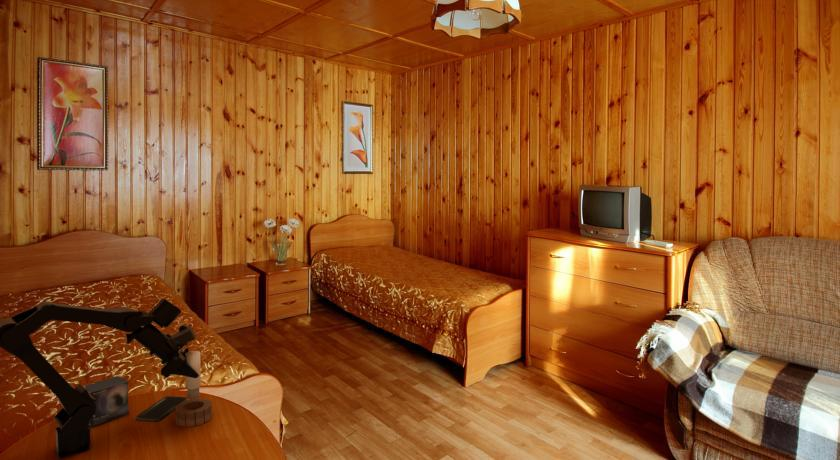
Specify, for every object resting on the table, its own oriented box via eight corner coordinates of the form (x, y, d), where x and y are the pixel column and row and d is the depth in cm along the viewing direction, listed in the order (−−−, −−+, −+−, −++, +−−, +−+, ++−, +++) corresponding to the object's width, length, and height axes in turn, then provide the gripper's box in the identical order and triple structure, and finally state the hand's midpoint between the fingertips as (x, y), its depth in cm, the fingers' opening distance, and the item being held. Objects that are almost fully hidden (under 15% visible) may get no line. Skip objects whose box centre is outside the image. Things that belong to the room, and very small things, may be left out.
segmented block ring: (182, 430, 137) (182, 416, 136) (171, 417, 143) (171, 404, 143) (216, 419, 143) (216, 406, 143) (204, 408, 150) (204, 395, 150)
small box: (91, 428, 136) (89, 392, 135) (79, 422, 140) (78, 387, 139) (130, 414, 145) (129, 380, 144) (118, 408, 149) (117, 375, 148)
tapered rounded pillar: (188, 400, 140) (187, 356, 139) (183, 396, 143) (183, 352, 142) (203, 396, 143) (202, 353, 141) (198, 392, 145) (197, 350, 144)
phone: (133, 417, 141) (166, 395, 156) (134, 421, 142) (166, 399, 156) (159, 419, 141) (189, 397, 155) (159, 423, 141) (189, 400, 156)
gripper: (173, 328, 130) (218, 364, 136) (179, 311, 148) (219, 343, 153) (140, 360, 128) (187, 395, 133) (150, 339, 145) (192, 370, 151)
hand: (198, 374), depth 143 cm, fingers closed on tapered rounded pillar, 4 cm apart
